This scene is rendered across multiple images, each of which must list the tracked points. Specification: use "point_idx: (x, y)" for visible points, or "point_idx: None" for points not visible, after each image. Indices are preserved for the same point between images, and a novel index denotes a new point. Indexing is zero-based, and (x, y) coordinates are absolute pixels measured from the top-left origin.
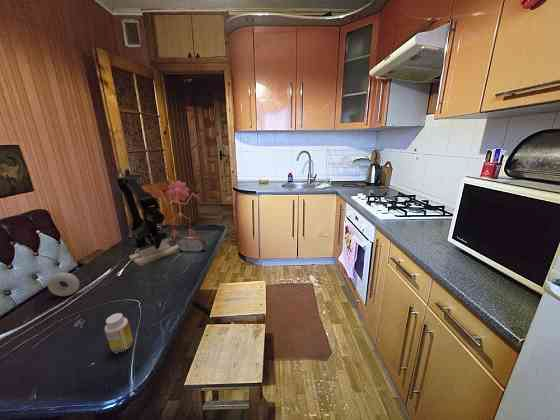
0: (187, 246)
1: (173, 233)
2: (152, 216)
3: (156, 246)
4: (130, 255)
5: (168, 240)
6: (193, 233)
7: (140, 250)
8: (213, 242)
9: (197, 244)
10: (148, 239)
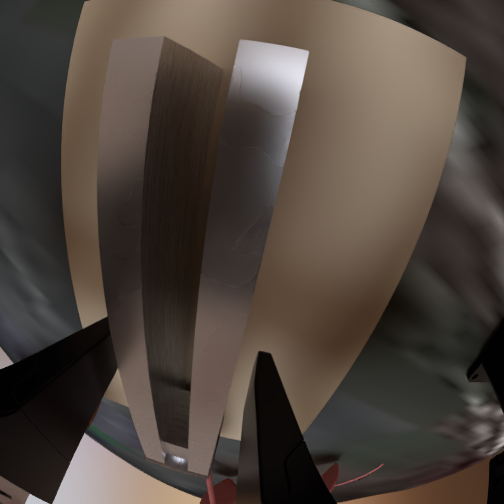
0: None
1: None
2: None
3: (76, 335)
4: (459, 72)
5: (149, 451)
6: (220, 490)
7: (124, 56)
8: (87, 428)
9: None
10: (307, 478)
